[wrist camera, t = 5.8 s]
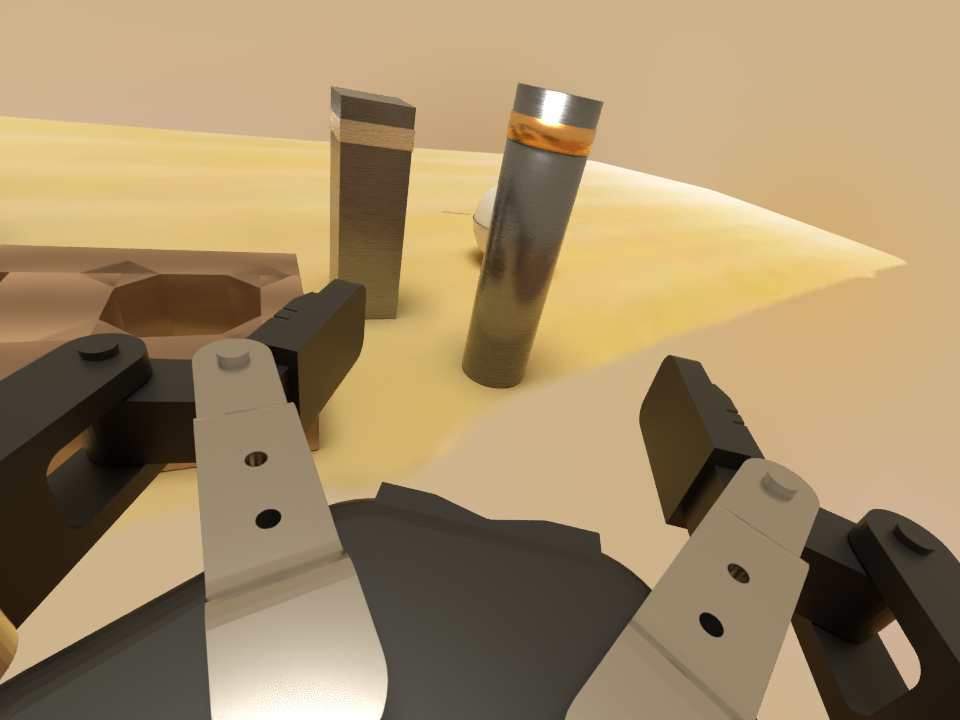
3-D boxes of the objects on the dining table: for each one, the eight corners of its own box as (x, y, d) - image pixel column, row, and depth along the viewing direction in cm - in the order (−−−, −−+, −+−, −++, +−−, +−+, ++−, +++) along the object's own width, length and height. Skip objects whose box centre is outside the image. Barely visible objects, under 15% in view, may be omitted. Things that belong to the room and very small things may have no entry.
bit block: (-156, 329, 19) (-216, 238, 17) (298, 317, 27) (295, 253, 24) (-453, 557, 11) (-640, 438, 9) (318, 449, 19) (317, 370, 16)
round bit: (452, 353, 27) (502, 79, 19) (507, 349, 28) (573, 94, 21) (475, 391, 24) (544, 89, 16) (535, 385, 25) (623, 106, 18)
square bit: (328, 292, 30) (329, 85, 24) (384, 292, 32) (399, 98, 25) (336, 320, 27) (340, 94, 21) (396, 318, 29) (417, 108, 22)
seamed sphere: (541, 257, 44) (562, 180, 40) (549, 287, 38) (575, 199, 34) (441, 238, 43) (452, 157, 39) (432, 266, 37) (445, 173, 33)
